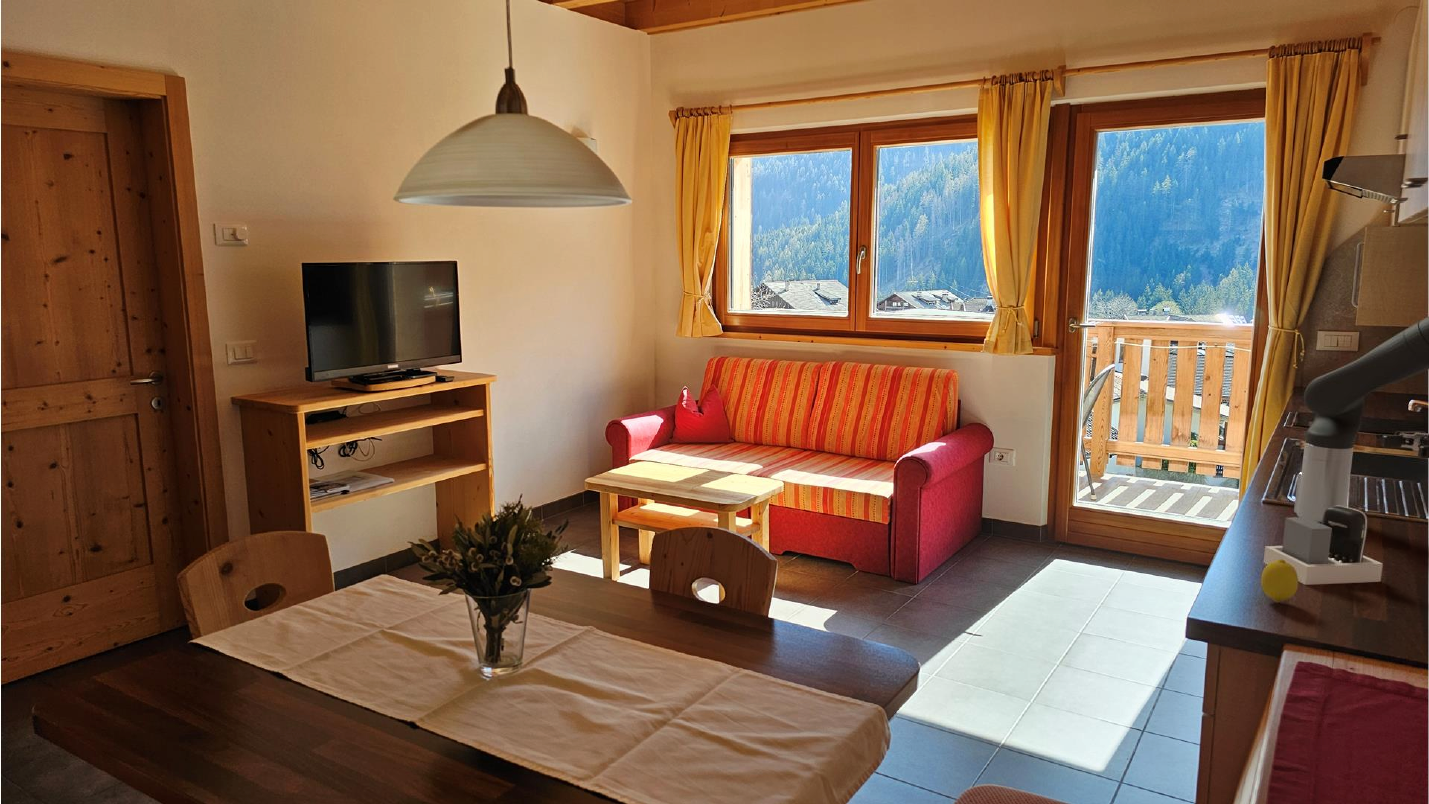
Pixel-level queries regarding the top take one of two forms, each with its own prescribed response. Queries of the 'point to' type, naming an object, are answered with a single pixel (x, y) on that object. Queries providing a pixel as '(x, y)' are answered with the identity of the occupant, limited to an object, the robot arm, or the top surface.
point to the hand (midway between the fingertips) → (1401, 446)
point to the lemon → (1279, 580)
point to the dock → (1328, 569)
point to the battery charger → (1346, 533)
